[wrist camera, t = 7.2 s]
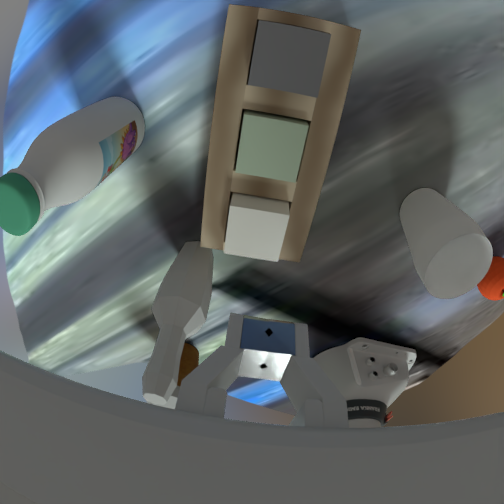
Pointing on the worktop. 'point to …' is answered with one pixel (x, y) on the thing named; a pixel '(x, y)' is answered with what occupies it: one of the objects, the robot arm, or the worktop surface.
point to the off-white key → (256, 226)
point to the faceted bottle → (178, 317)
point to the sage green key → (271, 145)
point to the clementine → (493, 280)
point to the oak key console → (277, 102)
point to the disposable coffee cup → (183, 372)
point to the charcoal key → (288, 58)
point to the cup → (444, 244)
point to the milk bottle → (69, 161)
